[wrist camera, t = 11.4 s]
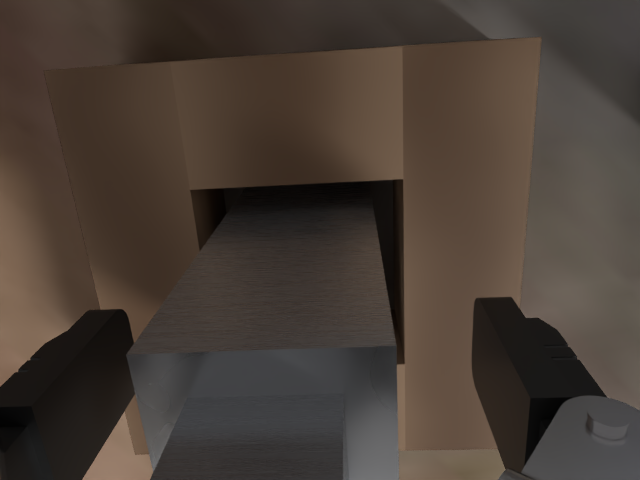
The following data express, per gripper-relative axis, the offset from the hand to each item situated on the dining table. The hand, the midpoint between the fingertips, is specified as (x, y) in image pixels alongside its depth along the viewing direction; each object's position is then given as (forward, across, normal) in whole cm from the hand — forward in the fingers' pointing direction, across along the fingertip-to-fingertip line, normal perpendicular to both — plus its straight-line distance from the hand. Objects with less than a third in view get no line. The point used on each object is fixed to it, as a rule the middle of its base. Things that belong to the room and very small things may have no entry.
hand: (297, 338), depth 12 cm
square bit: (+6, 0, 0) cm, 6 cm away
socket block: (+7, 0, 0) cm, 7 cm away
